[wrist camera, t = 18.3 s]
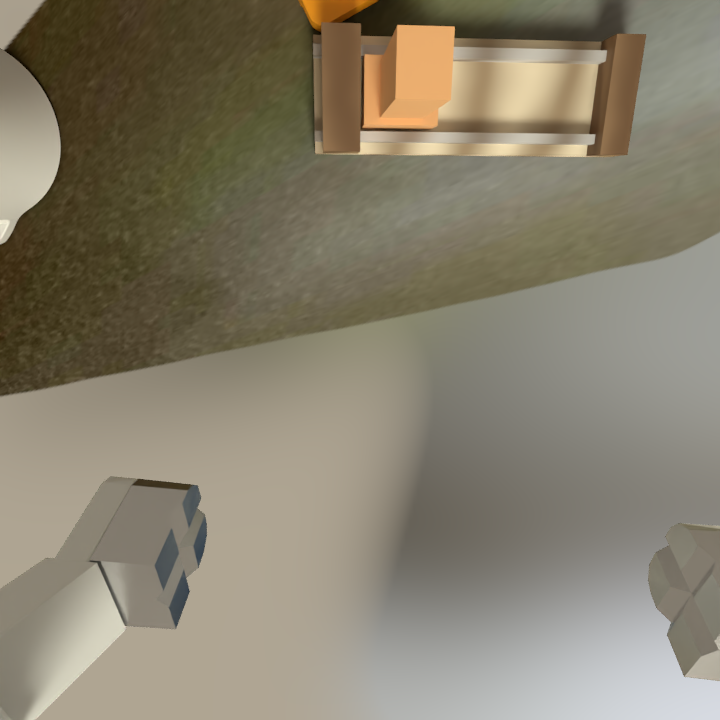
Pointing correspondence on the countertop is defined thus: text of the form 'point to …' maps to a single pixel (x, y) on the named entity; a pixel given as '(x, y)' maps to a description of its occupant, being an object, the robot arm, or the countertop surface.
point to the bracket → (332, 10)
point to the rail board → (489, 97)
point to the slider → (408, 79)
